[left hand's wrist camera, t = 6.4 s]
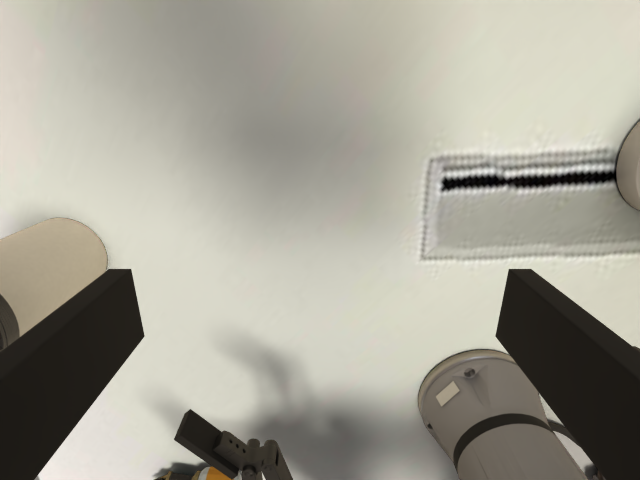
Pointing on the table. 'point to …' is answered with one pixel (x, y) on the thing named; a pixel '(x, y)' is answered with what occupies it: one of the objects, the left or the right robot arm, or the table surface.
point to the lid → (7, 324)
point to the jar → (48, 267)
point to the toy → (598, 476)
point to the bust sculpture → (630, 168)
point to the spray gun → (199, 475)
